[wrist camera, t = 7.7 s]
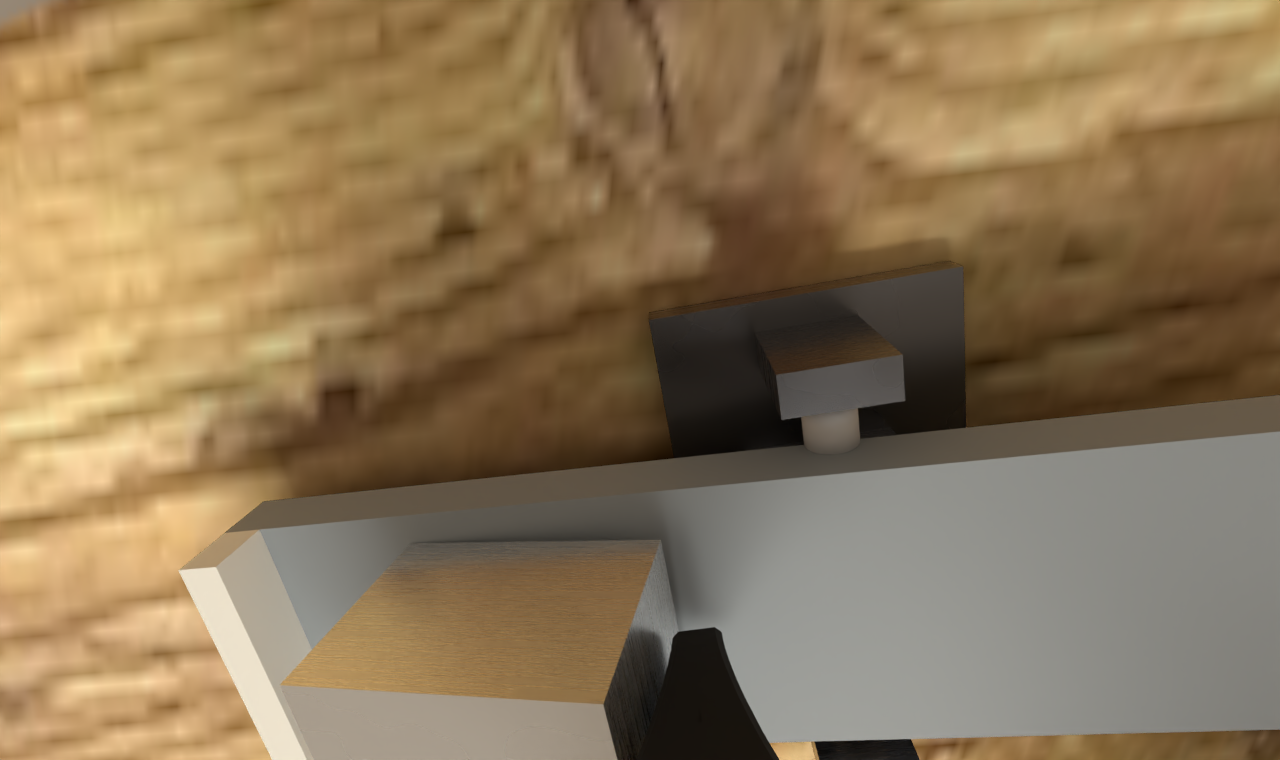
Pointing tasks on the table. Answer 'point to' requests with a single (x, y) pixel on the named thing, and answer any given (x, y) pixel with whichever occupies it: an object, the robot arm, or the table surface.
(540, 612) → the steel weight
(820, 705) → the seesaw beam
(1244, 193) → the table surface
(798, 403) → the pivot stand
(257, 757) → the table surface
